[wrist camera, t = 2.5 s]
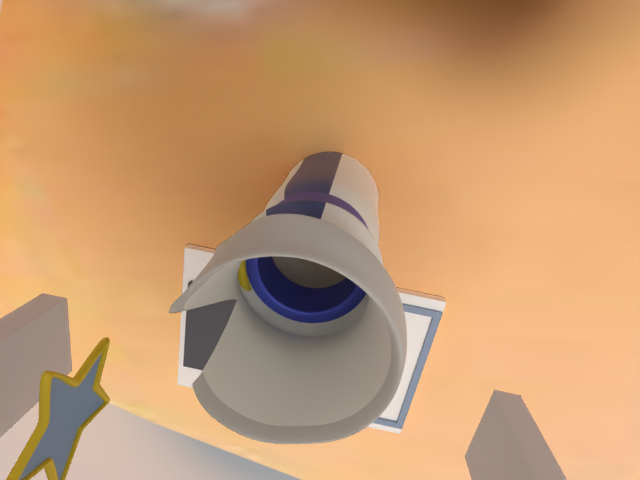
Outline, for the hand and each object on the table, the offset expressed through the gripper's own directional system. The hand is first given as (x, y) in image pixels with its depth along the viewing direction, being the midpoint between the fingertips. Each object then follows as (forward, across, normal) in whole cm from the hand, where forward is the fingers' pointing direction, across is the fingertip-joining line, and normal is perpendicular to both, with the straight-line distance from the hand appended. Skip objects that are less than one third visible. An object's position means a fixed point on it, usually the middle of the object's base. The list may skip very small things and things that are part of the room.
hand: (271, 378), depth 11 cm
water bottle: (+20, 0, 0) cm, 20 cm away
